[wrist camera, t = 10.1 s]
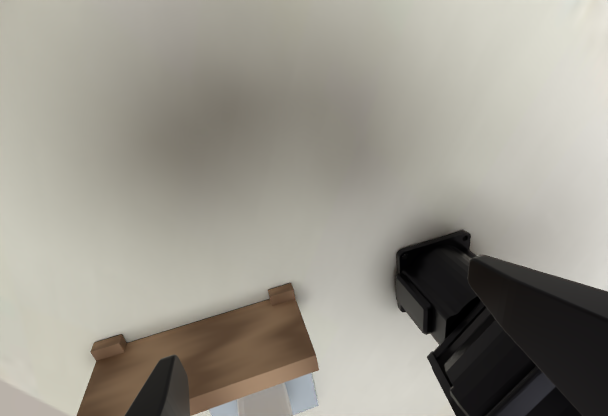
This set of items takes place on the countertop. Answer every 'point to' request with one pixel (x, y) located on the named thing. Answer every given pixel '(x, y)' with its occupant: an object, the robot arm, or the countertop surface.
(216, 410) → the slate coaster
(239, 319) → the walnut screen
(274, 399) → the pepper shaker
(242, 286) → the countertop surface
